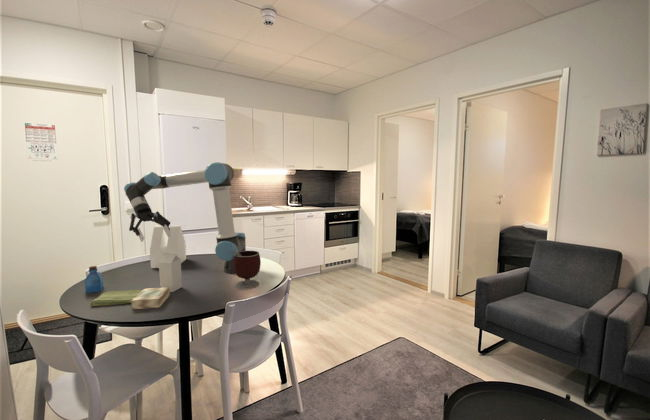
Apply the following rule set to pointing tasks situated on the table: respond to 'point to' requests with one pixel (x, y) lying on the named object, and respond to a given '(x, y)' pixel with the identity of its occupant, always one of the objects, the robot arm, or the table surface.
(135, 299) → the beige book
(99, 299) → the washcloth
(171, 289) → the milk carton
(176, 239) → the white notched block
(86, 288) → the perfume bottle
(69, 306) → the table surface
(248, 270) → the dark red goblet
